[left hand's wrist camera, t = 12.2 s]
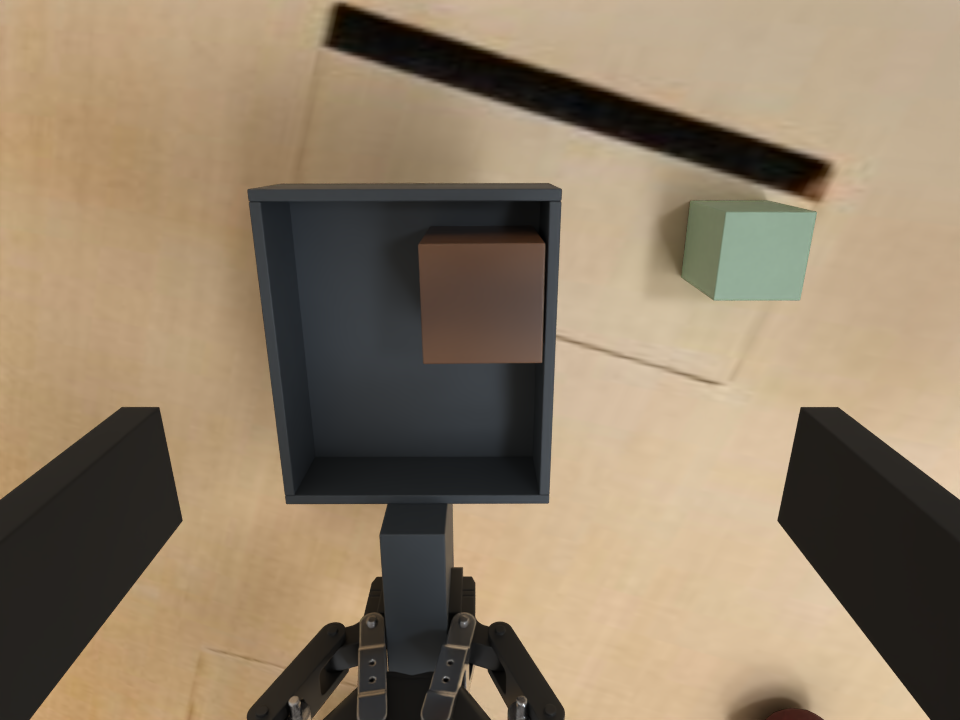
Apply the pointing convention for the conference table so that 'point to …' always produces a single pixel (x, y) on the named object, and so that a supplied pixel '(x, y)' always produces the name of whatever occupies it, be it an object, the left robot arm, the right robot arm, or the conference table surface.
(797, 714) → the dark red ball
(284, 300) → the tote
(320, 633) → the right robot arm
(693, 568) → the conference table surface
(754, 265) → the sage block
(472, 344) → the walnut block
